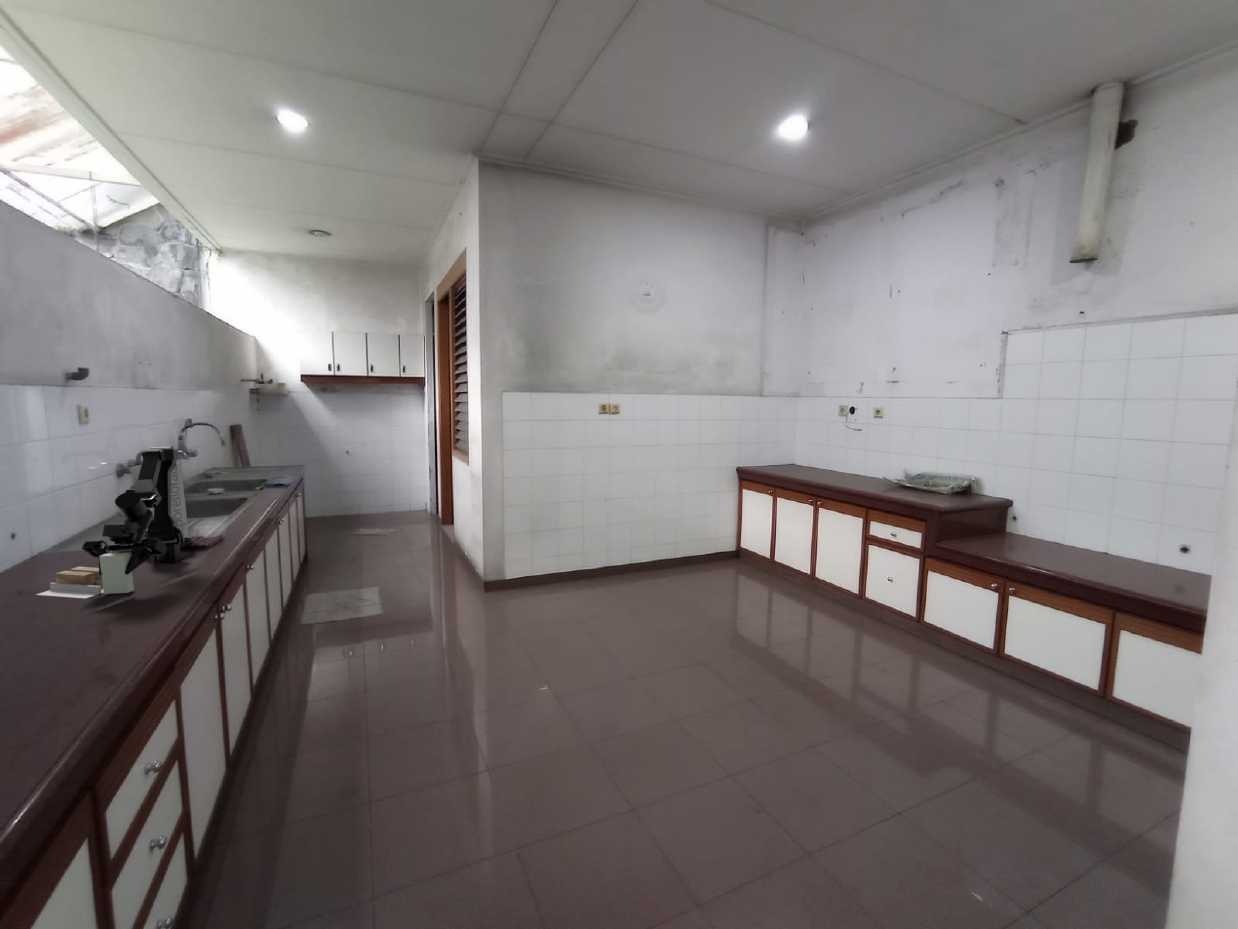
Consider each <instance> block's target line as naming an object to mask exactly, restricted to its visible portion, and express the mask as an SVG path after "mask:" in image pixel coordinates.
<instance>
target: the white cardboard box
mask: <svg viewBox="0 0 1238 929" xmlns="http://www.w3.org/2000/svg"><path fill="white" fill-rule="evenodd" d="M140 469H141V465H137V466H130V473H131V481H132V485H134V484H135V483H137V480H138V476H139V472H140ZM185 499H186V498H185V489H184V479H183V469H182V462H176V466H175V468H174V469H173V470H172V472H171V514H172V516H173V517H174V519H175V520H176V521H177V522H178V526H179V528H180V530H181V531H182V534H183V537H189V528H188V519H187V518H188V517H187V516H188V515H187V507H186V500H185ZM147 509H149V510H151V512H152V513H153V516H154V508H147ZM145 538H146V537H144V538H143V539H145ZM189 538H190V537H189Z"/></svg>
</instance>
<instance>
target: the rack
mask: <svg viewBox="0 0 1238 929" xmlns="http://www.w3.org/2000/svg"><path fill="white" fill-rule="evenodd" d="M99 594H104V590H103V582H102V580H95V586H93V585H79V584H65V583H56V582H49V590H46V591H44V592H43V591H42V592H40V593H36V594H35V595H36V596H44V597H45V596H47V597H62V598H73V599H88V598H90V597H94V596H97V595H99Z"/></svg>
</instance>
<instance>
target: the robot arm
mask: <svg viewBox="0 0 1238 929" xmlns="http://www.w3.org/2000/svg"><path fill="white" fill-rule="evenodd" d="M141 454H142V455H141V456H142V458H141V459H142V462H141V464H140V466H141V469H140V472H139V476H138V480H137V483H135V484H134V485H133V484H132V485H130V486H129V489H125V492H123V493H121V494H120V495H118V496H117V497H116V498H115V499H114V503H115V506H116V507H117V509H118V510H119V511H120V513H121V514H122V517H125V520H124V522H123V523H122V524H104V525H103V529H102V535H101V536H102V537H103V538H104V537H107V538H109V541H110V542H112V543H110V544H109V543H107V542H105V541H104V540H103V539H89V540H85V541H84V542H83V544H82V547H81V549H82V550H83V551H84V552H86V553H87V554H89V555H90V556H92V557H93V558H98V568H99V575H101V576H102V572H101V567H100V559H99V556H101V555H103V554H108V553H112V552H119V551H120V552H123V551H124V552H127V551H128V552H129V551H131V553H132V554H131V555H130V560H129V562H128V565H127V567H126V570H125V574H126V575H128V574H129V573H131V572H132V573H133V571H134V570H135V569H137V568H138V567H139V566H141V565H142V564H143V563H145V562H146V561H147V560H149V559H153V561H152V563H155V564H156V563H157V564H166V565H167V564H168V565H169V564H174V563H177V562H178V561H180V560H184V558H185V557H184V556H182V555H181V547H180V544H183V543H185V539H184V537H183V534H182V531H181V530H180V528H179V526H178V522H177V521H176V520H175V519H174V517H173V516H172V514H171V472H172V470H173V469H174V468H175V466H176V463H178V462H177V461H178V460H179V452H178V449H175V448H174V447H173V446H151V447H148V449H145V450H142V453H141ZM147 508H154V516H153V513H152V512H151V510H149V509H147ZM144 537H146V538H145V539H143V538H144ZM175 539H176V540H175ZM113 542H114V543H113Z"/></svg>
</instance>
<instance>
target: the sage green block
mask: <svg viewBox="0 0 1238 929" xmlns="http://www.w3.org/2000/svg"><path fill="white" fill-rule="evenodd" d="M130 558H131V552H115V553H108V554H103V555H101V556H99V559H100V567H101V572H102V582H103V590H104V592H103V594H104V595H111V594H113V595H114V594H128V593H131V592H133V591H134V590H135V584H134V579H133V578H134V577H133V571H132V572H131V573H129V574H128V575H126V574H125V570H126V567H127V565H128V562H129V560H130ZM99 559H98V560H99Z"/></svg>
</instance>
